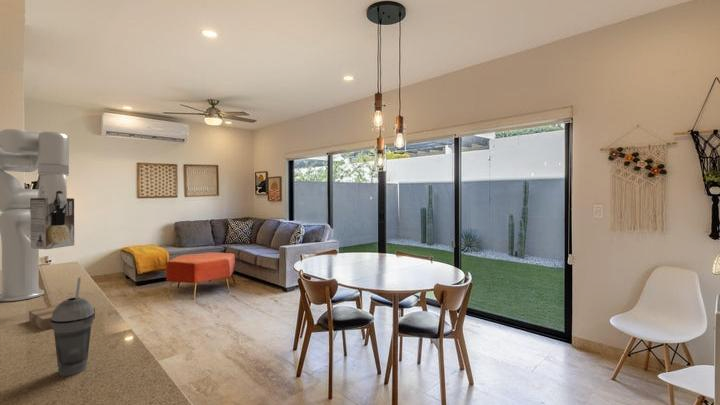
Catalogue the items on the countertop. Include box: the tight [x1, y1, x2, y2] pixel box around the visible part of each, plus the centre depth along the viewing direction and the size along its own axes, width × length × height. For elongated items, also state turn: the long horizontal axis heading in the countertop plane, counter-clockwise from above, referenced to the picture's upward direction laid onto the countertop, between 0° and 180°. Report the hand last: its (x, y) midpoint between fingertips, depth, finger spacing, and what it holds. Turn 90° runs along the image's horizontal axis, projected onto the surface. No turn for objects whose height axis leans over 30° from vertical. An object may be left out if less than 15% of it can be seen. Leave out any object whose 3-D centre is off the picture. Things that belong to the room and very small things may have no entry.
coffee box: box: [30, 197, 75, 250], centre depth 113 cm, size 9×6×16 cm
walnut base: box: [28, 305, 96, 331], centre depth 104 cm, size 12×12×3 cm
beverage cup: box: [51, 277, 96, 377], centre depth 74 cm, size 7×7×20 cm
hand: (53, 224), depth 113 cm, fingers closed on coffee box, 8 cm apart
